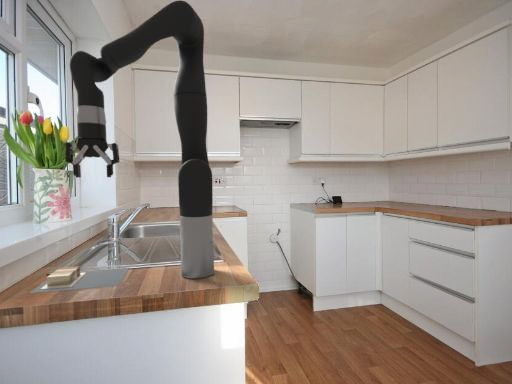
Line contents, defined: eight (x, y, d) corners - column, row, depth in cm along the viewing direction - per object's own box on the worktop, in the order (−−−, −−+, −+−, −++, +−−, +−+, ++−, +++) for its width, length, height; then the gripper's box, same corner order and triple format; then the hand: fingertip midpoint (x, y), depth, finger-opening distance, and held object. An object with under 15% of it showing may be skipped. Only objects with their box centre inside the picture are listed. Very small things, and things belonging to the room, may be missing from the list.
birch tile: (69, 284, 76) (68, 275, 75) (47, 286, 74) (46, 277, 74) (80, 274, 83) (79, 266, 83) (60, 275, 82) (60, 267, 82)
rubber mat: (129, 269, 90) (129, 267, 90) (118, 287, 75) (118, 285, 75) (56, 274, 85) (56, 272, 85) (29, 295, 71) (28, 292, 70)
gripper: (59, 120, 83) (62, 177, 84) (114, 122, 86) (116, 177, 87) (70, 124, 90) (72, 177, 91) (120, 126, 93) (121, 177, 94)
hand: (93, 177), depth 89 cm, fingers open, 8 cm apart
